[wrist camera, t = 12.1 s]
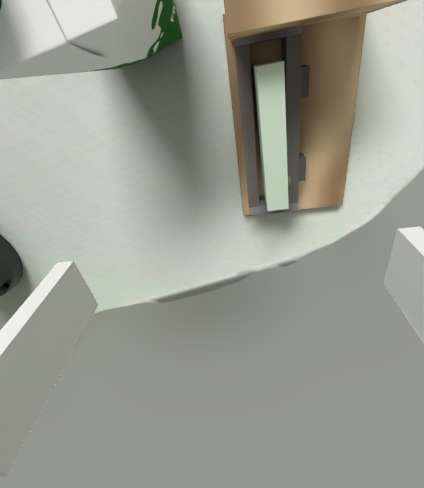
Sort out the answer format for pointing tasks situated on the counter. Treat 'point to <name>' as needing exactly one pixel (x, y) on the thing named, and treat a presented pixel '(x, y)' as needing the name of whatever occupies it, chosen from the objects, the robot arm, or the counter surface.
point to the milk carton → (82, 34)
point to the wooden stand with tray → (298, 91)
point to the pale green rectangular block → (272, 131)
